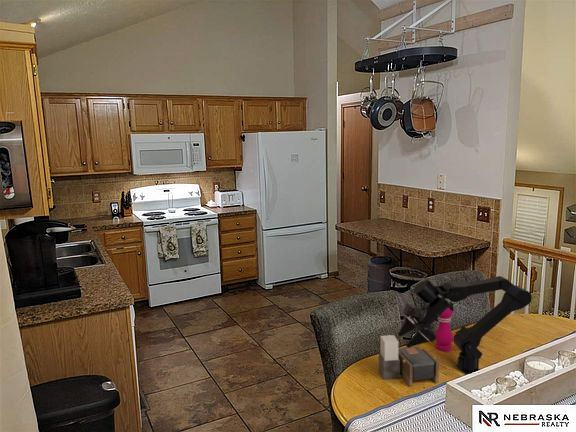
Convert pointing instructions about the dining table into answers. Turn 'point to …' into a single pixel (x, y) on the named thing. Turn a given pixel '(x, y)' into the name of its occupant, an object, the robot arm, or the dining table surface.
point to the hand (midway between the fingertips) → (402, 341)
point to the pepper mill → (444, 332)
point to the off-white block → (389, 347)
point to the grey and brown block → (419, 362)
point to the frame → (407, 368)
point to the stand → (389, 368)
